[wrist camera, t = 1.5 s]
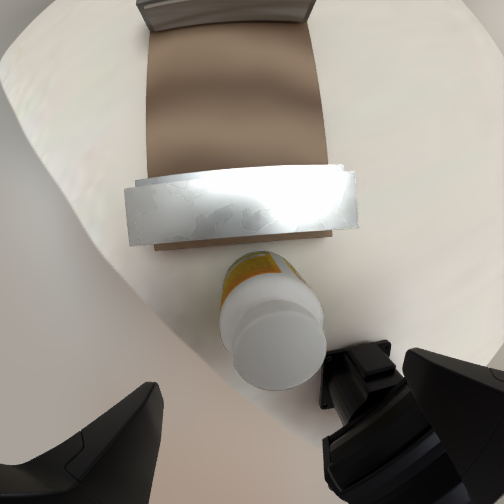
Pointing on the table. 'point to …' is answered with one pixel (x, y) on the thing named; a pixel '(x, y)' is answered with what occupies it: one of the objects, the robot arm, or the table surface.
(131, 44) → the table surface
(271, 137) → the vise bed
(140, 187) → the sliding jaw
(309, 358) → the supplement bottle
